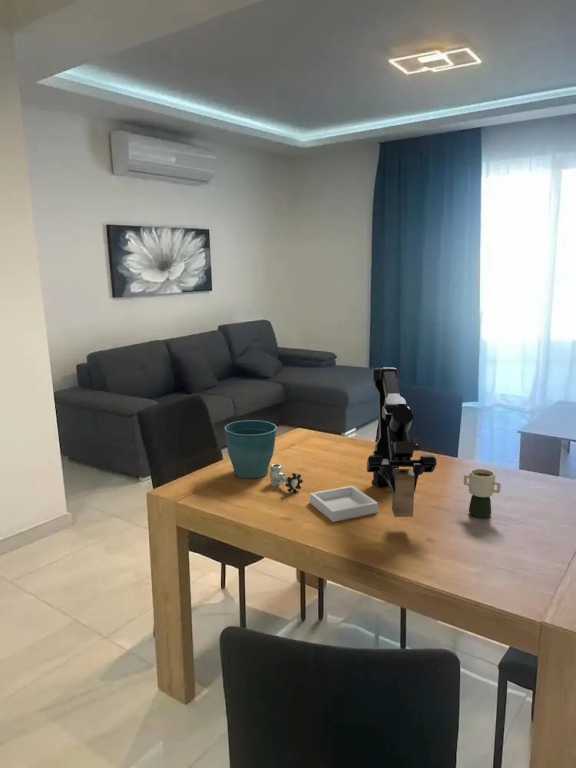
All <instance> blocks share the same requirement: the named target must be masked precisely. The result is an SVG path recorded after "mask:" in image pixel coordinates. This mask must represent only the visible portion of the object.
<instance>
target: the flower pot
mask: <svg viewBox="0 0 576 768" xmlns="http://www.w3.org/2000/svg"><path fill="white" fill-rule="evenodd" d="M277 429H278V426H277V425H276V424H275V423H272V422H269V421H265V420H257V419H256V420H255V419H253V420H252V419H251V420H248V419H247V420H246V419H245V420H239V421H234V422H231V423H227V425H225V426H224V431H225V437H226V438H225V440H226V442H225V443H226V449H227V453H228V456H229V459H230V463H231V465H232V468H233V474H234V475H235V476H236V477H238V478H241V479H259V478H262V477H265V476H266V475H267V474H268V472H269V467H270V464H271V460H272V458H273V456H274V452H275V446H276V445H275V444H276V437H277V436H276V435H277Z"/></svg>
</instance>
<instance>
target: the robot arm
mask: <svg viewBox="0 0 576 768" xmlns="http://www.w3.org/2000/svg"><path fill="white" fill-rule="evenodd" d="M370 375H371V376H370V377H371V382H372V384H373V385H372V386H373V389H374V390H375V392H376V394H377V395H378V398H377V399H378V430H379V432H378V436H379V437H378V440H377V441H376V443H375V445H374V450H373V451H372V454H370V455H369V456H368V457H367V461H366V472H367V473H373V474H372V475H373V479H372V480H371V483H372V484H374V485H376V486H377V487H379V488H381V489H386V488H390V490H391V491H392V492H393V493H395V485H394V480H393V469H400V468H412V471H413V473H414V475H415V483H414V493H415V492H416V489H417V482H418V479H419V476H421V475H423V473H433V472H434V471H435V469H436V467H437V465H438V464H437V463H438V462H437V457H435V456H434V455H424V454H423V455H420V457H419V459H412V458H413V456H414V451H415V452H416V451H417V452H419V451H420V450H421V444H420V443H421V442H420V439H419V438H412V439H411V440H410V438H409V431H410V428H411V425H412V422H413V420H414V413H413V411H412V410H411V408H410V406H408V404H407V401H406V399H405V398H404V397H403V396H402V395H401V394H400V389H399V384H398V382H399V376H400V375H399V369H398V368H397V367H391V366H390V367H389V366H388V367H386V366H385V367H384V366H383V367H382V368H381V367H375V369H373V370H371V374H370Z"/></svg>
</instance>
